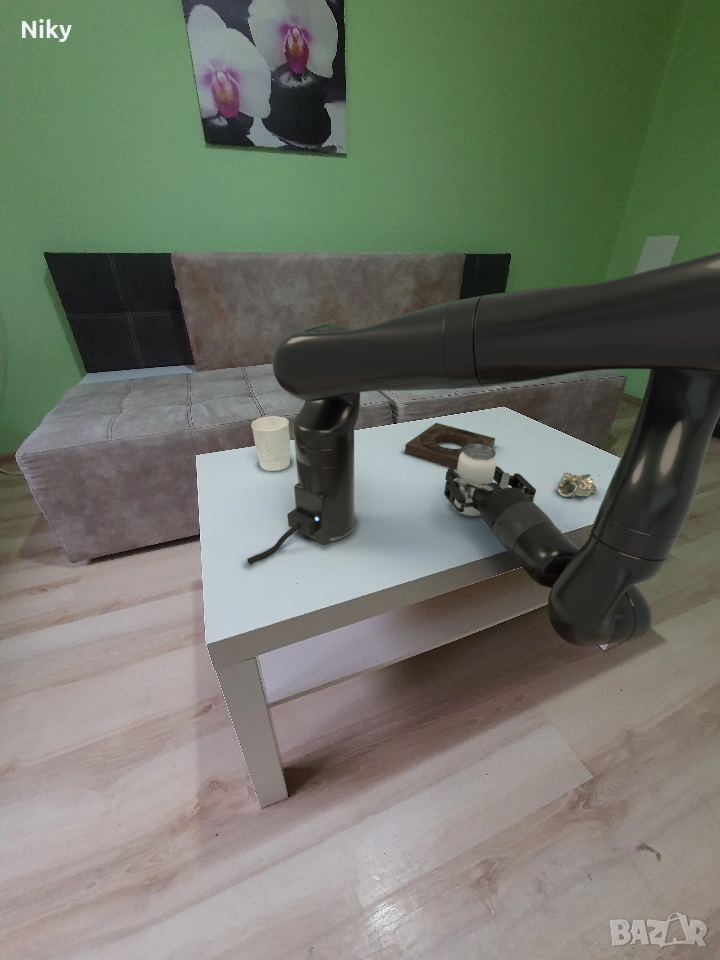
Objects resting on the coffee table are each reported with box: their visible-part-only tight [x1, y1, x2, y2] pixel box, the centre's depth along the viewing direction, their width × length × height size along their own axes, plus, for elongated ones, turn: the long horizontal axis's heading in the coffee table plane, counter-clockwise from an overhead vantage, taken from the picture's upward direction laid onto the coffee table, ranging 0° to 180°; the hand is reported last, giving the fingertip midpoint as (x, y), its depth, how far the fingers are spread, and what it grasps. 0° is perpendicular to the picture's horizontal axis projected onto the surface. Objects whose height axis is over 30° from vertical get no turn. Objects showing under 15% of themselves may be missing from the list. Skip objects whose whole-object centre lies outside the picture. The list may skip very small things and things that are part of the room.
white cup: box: [250, 415, 291, 472], centre depth 85 cm, size 8×8×10 cm
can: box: [451, 444, 497, 517], centre depth 70 cm, size 6×6×12 cm
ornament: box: [557, 472, 598, 498], centre depth 77 cm, size 8×7×4 cm
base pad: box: [404, 422, 496, 471], centre depth 93 cm, size 16×16×2 cm
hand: (469, 470), depth 71 cm, fingers open, 8 cm apart
